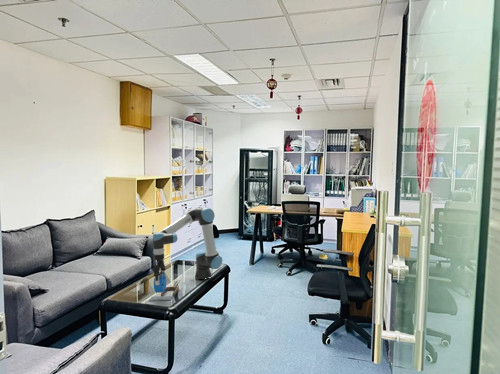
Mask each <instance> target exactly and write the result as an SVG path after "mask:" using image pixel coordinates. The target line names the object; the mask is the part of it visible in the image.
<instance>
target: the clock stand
mask: <svg viewBox="0 0 500 374" xmlns="http://www.w3.org/2000/svg"><path fill="white" fill-rule="evenodd" d="M168 291H173V292H172V296H173V297H175V296H176V295H177V293H178V291H180V287H179V286H166V289H165V291H164V292H160V296H165V294H166V293H167V292H168Z"/></svg>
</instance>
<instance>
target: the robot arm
mask: <svg viewBox="0 0 500 374" xmlns="http://www.w3.org/2000/svg"><path fill="white" fill-rule="evenodd" d="M214 220H215V213H214V210H213V209H211V208H209V207H195V208H192V209H191V210H188V211H187V212H186V213H184V215H182V217H180V218H178V219H177V220H175V221H174V222H172V223H171V224H170V225H168V226H166V227H164V228H163V229H162V230H160V231H157V232H154V233H153V234H152V243H153V244H152V246H153V247H152V248H153V260H155V262H154V270H153V271H154V272H153V277H154V278H155V284H156V285H159V272H160V271H163V272H164V273H165V271H166V266H165V261H164V260H165V245H170V244H174V243H177V241H178V235H177V233H176V232H179V230H181V229H182V228H184V227H186V226H187V225H189V224H192V223H193V222H198V224H199V226H200V227H201V231H202V235H203V241H204V246H205V251H201V252H200V251H199V252H197V253H196V254H195V266H196V271H195V275H194V279H195V280H196V279H205V278H208V277H211V276H212V277H213V275H212V274H213V273H212V271H211V269H212V270H218V269H220V267H221V266H222V264H223V257H222V256H221V255H219V251H218V250H217V246H216V242H215V237H214V230H213V225H212V224H213V223H214Z"/></svg>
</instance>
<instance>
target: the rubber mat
mask: <svg viewBox="0 0 500 374" xmlns="http://www.w3.org/2000/svg"><path fill="white" fill-rule="evenodd" d="M173 297H174V296H173V295H163V296H161V295H159V296H158V295H157V296H151V297H150V298H149V300H148V302H161V301H163V302H164V301H165V302H167V301H169V302H170V301H171V300H172V299H173Z"/></svg>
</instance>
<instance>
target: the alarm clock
mask: <svg viewBox="0 0 500 374" xmlns="http://www.w3.org/2000/svg"><path fill="white" fill-rule="evenodd" d="M166 287H167V276H166V273H165V271H164V272H163V271H162V270H159V285H156V284H155V277H154V279H153V289H154V292H155V293H156V294H157V293H160V294H161V293H162V292H164V291H165V289H166Z"/></svg>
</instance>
